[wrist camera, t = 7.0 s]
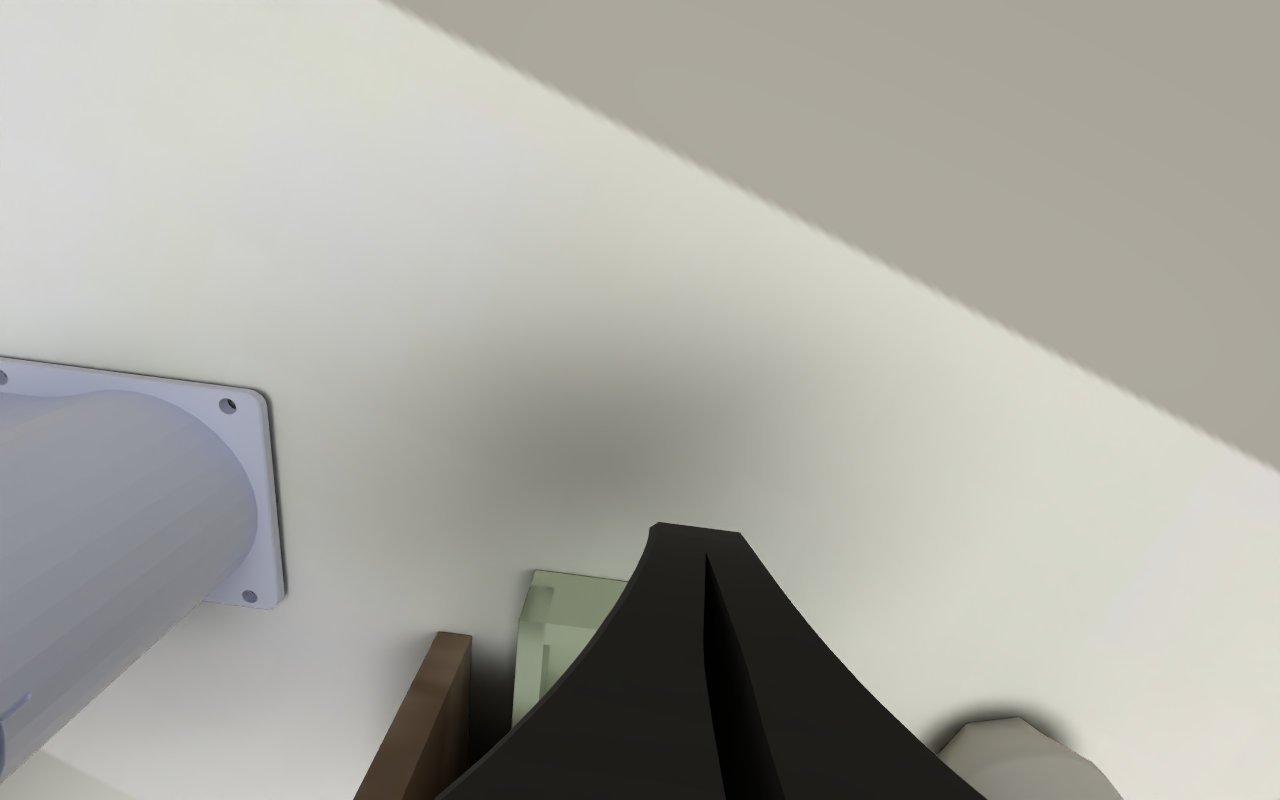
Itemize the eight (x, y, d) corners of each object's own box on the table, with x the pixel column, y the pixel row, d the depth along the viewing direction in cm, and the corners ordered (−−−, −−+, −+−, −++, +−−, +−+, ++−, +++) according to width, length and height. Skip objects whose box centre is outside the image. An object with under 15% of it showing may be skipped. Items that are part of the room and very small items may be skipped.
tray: (520, 764, 24) (483, 913, 19) (535, 569, 21) (495, 689, 16) (725, 791, 24) (739, 947, 19) (770, 600, 21) (800, 729, 16)
